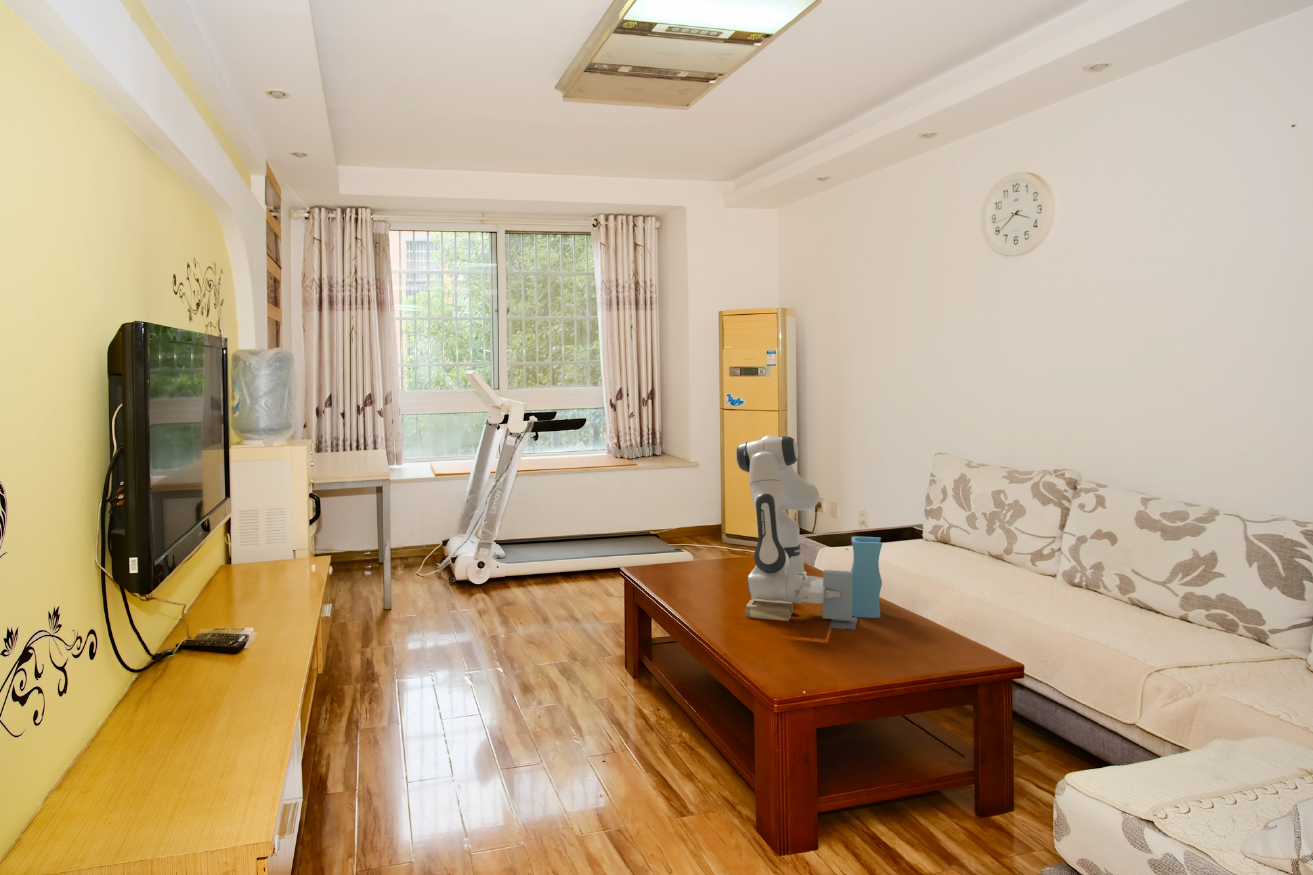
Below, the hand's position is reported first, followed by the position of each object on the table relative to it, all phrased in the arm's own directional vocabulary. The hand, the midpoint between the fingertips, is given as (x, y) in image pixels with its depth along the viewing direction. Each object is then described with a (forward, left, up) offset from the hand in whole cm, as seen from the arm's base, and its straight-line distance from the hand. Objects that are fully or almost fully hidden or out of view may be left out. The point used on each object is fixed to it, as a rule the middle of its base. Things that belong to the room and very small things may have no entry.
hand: (840, 592), depth 270 cm
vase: (-14, +7, -10) cm, 19 cm away
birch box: (0, -23, -10) cm, 25 cm away
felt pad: (0, -1, -10) cm, 10 cm away
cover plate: (0, -1, -8) cm, 9 cm away
